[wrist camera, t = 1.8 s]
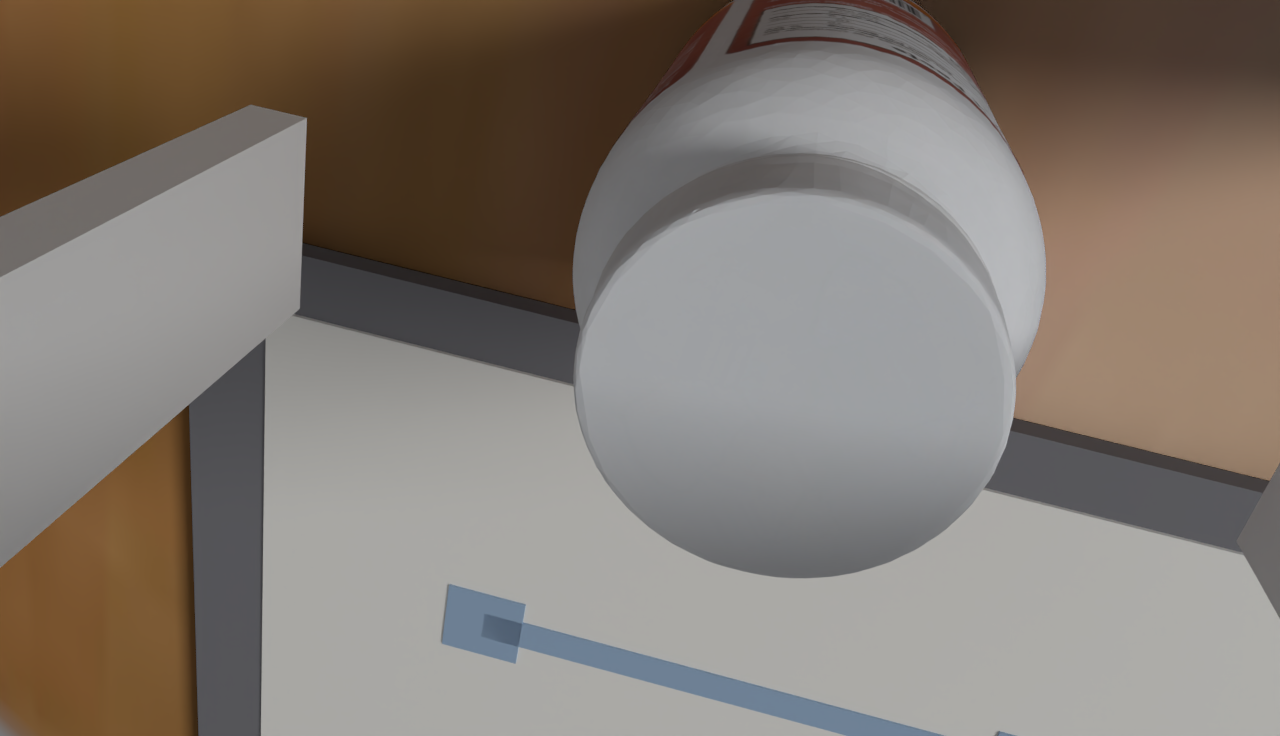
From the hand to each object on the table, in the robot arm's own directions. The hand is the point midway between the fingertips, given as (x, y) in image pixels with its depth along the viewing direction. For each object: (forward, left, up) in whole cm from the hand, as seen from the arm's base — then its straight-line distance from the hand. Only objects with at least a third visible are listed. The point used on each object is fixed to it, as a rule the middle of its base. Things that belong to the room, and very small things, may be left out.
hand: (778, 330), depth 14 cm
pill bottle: (0, 0, -9) cm, 9 cm away
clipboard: (+14, +2, -8) cm, 16 cm away
